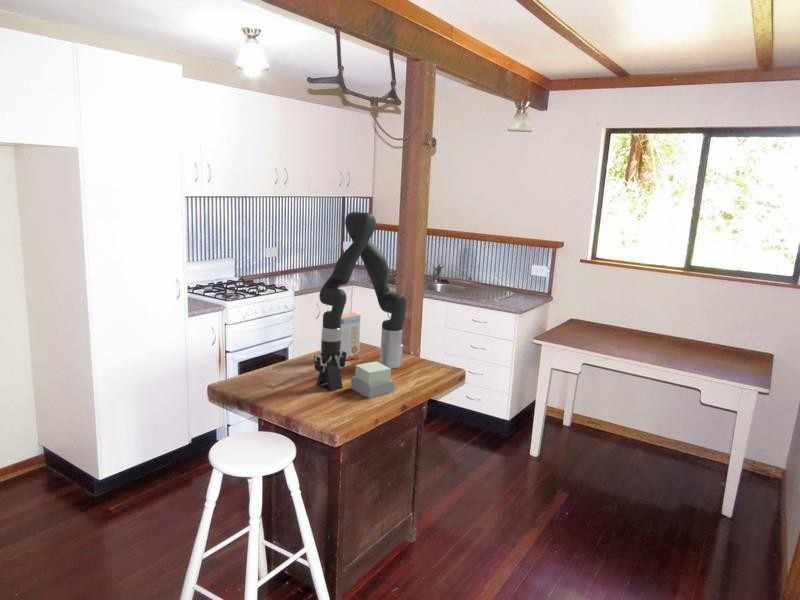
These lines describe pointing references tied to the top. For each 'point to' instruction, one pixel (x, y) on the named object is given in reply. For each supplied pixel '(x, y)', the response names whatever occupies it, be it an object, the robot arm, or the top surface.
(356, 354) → the cracker box
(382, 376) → the tower top block
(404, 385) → the top surface
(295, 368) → the top surface
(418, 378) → the top surface
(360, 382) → the tower base slab
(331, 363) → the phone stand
